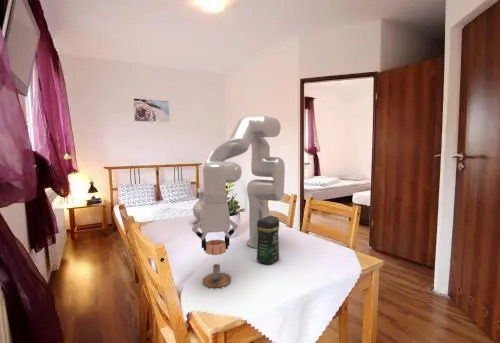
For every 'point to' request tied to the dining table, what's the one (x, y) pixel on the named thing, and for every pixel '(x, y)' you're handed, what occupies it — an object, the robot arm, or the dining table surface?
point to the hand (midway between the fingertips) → (215, 248)
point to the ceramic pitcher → (199, 203)
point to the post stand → (216, 278)
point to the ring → (215, 247)
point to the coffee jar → (268, 240)
